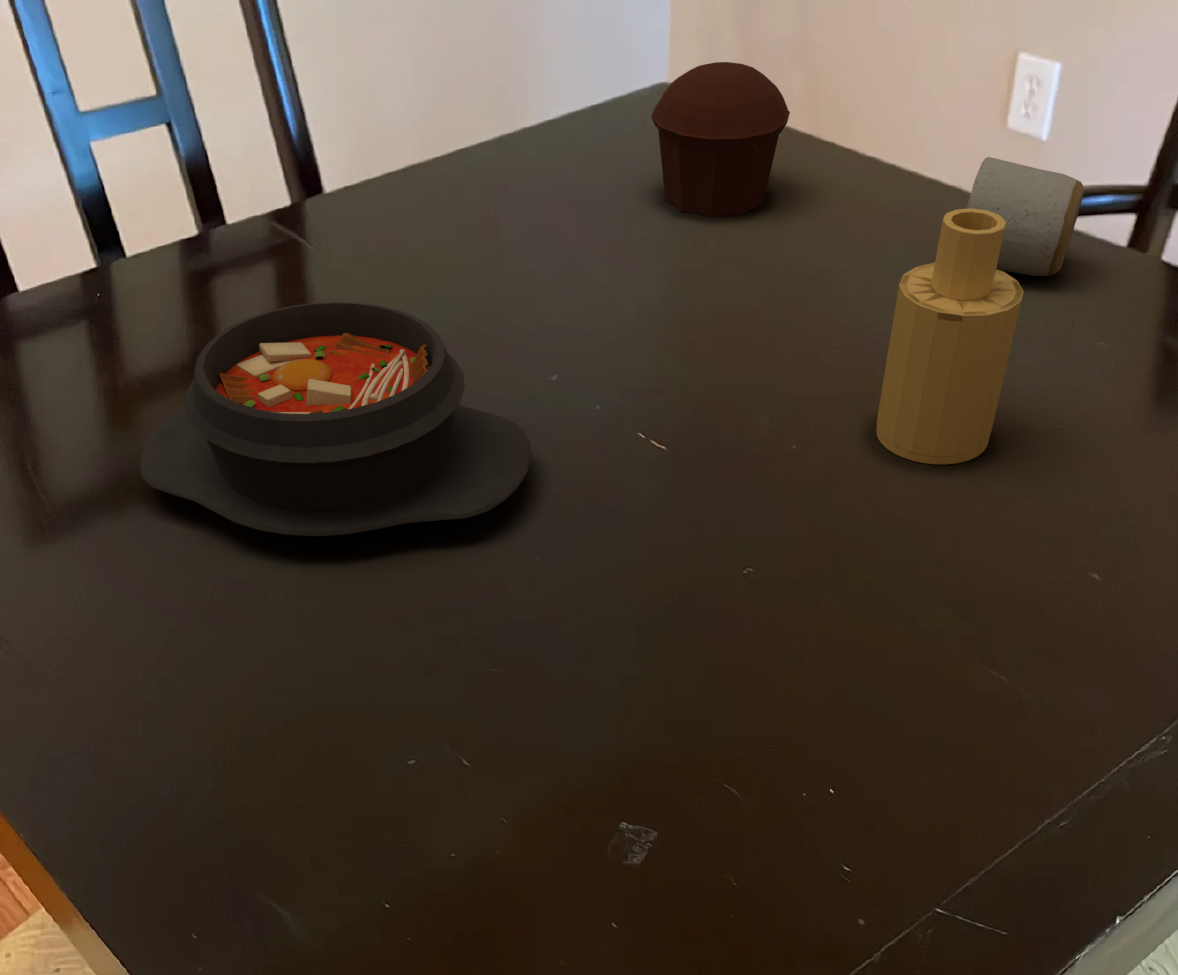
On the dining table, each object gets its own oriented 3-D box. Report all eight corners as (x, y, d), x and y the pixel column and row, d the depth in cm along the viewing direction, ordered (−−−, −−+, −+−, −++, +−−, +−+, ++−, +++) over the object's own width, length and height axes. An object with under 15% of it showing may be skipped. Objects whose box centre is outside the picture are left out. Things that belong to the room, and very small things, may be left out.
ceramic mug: (1055, 295, 103) (1082, 190, 98) (949, 279, 105) (969, 176, 100) (1072, 243, 110) (1098, 143, 105) (973, 229, 112) (993, 130, 107)
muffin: (691, 233, 112) (697, 102, 105) (625, 187, 119) (627, 62, 111) (808, 204, 116) (822, 76, 108) (737, 162, 122) (746, 39, 115)
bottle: (995, 418, 91) (1045, 205, 81) (979, 473, 86) (1029, 254, 76) (888, 400, 93) (923, 189, 83) (865, 453, 88) (900, 236, 78)
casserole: (558, 423, 91) (555, 301, 85) (496, 583, 79) (487, 454, 72) (210, 392, 94) (182, 273, 88) (97, 542, 82) (56, 415, 76)
